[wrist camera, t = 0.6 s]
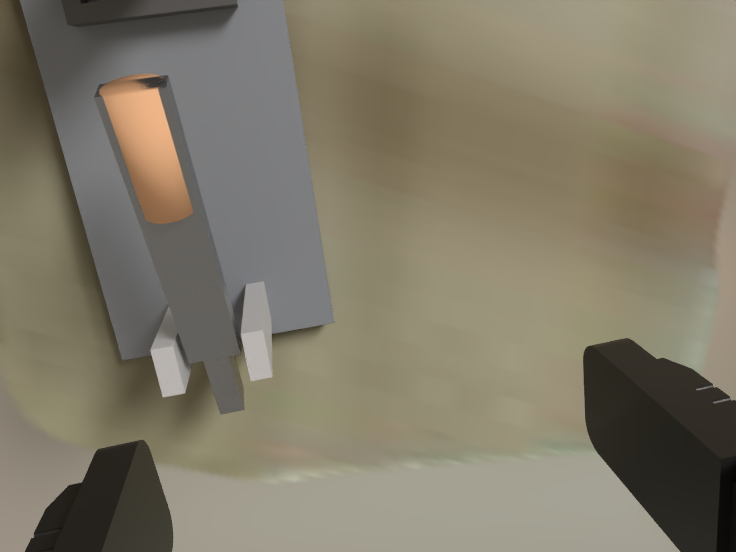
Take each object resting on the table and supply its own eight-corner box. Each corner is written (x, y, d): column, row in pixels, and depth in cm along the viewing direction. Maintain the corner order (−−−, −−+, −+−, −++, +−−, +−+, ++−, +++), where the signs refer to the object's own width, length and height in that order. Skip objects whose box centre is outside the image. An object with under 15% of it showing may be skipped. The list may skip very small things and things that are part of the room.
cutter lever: (100, 78, 22) (91, 103, 21) (169, 69, 23) (165, 93, 21) (209, 392, 33) (208, 426, 31) (254, 384, 33) (256, 417, 32)
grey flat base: (-50, -285, 27) (-185, -437, 19) (233, -306, 28) (219, -458, 20) (128, 349, 36) (88, 427, 28) (331, 313, 38) (348, 378, 30)
